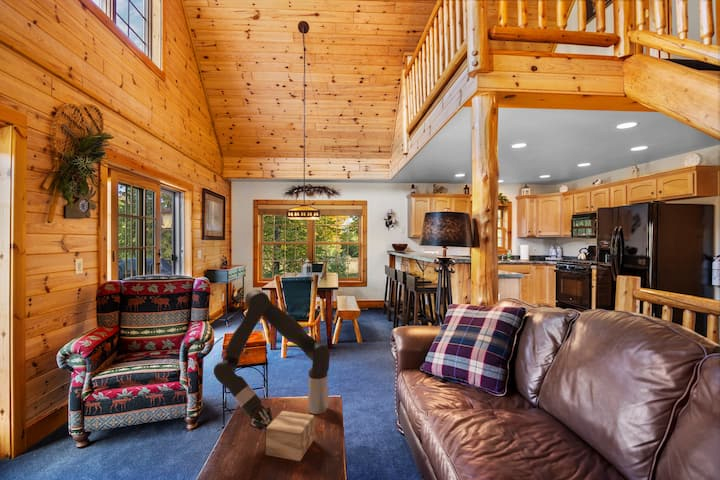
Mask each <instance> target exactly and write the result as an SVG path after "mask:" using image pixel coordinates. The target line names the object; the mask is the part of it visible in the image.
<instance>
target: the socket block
mask: <svg viewBox="0 0 720 480" xmlns="http://www.w3.org/2000/svg"><path fill="white" fill-rule="evenodd" d="M314 420H315V414H313V415H312V414H306V413H302V412H301V413H300V412H293V411H287V410H281V411H280V412H279V413H278V414H277V415H276V416H275V417H274V418H272V420H271V422H270V424H269V425H268V426H267V427H266V428H265V429H264V435H265V436H264V455H265V456H269V457H270V456H271V457H276V458H279V459H280V458H282V459H287V460H291V461H297V462H300V461H301V460H302V459H303V457H304V455H306V452H307V451H308V450H309V448H310V446H311V445H312V443H313V442H314V438H315V437H314V434H315V431H314V430H315V429H314V428H315V427H314V426H315V421H314Z"/></svg>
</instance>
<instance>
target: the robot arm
mask: <svg viewBox="0 0 720 480" xmlns="http://www.w3.org/2000/svg"><path fill="white" fill-rule="evenodd" d="M244 298H245V300H244V302H245V306H246V307H247V309H246V310H247V311H246V313H245V316H244V318H243V319H242V321H241V323H240V324H239V325H238V327H237V328H236V329H235V330H234V332H233V334H232V335H231V337H230V339H229V340H228V343H227V346H226V348H225V351H224V353H225V355H224V358H223V360H222V361H220V362H217V363H216V364H215V366H214V368H213V375H214V377H215V379H216V380H217V381H218V382H219V383H220V384H222V385H223V386H224V387H225V388H226V389H227V390H228V391H229V392H230V394H231V396H233V397H234V399H235V401H236V403H237V404H238V406H239V407H240V408H241V410H243V412H244V414H245V415H246V416H249V418H250V420H251V423H250V424H249V426H250V427H252V428H254V429H257V430H260V431H263V430H265V428H266V427H267V426H268V425H269V424H270V422H271V421H272V420H273V416H272V411H271V407H270V406H267V407H265V406H264V405H262V402H263V401H262V399H261V398H260V397H259V396H258V394H257V393H256V391H255V390H254V389H253V388H252V387H251V386H250V385H249V384H248V382H247V381H246V380H245V378H243V376H240V375H238V374H237V373H235V371H237V368H238V365H239V363H240V359H241V356H242V353H243V351H244V349H245V347H246V344H247V343H248V341H249V339H250V337H251V335H252V333H253V331H254V329H255V327H256V326H257V324H258V323H259V321H260V319H261V318H262V317H263V318H264V320H265V321H267V323H269V324H270V326H271V327H272V328H274V330H275V331H276V332H278V334H280V335H281V336H282V337H283V338H285V339H286V340H287V341H288V342H290V343H292V344H294V345H295V346H297V347H298V348H299V349H301V350H302V352H303V353H304V354H305V355H306V356H307V357H308V359H309V360H311V361H312V364H311V367H310V369H309V370H308V397H307V398H308V403H307V405H308V407H307V411H308V413H311V415H312V414H313V415H320V414H325V412H327V410H328V407H329V389H328V371H329V369H330V358H331V357H330V349H329V347H328V346H326V345H325V344H324V343H322V342H320V341H318V340H316V339H314V338H313V337H312V336H310V335H309V334H308V333H307V332H306V331H305V328H303V326H302V325H301V324H300V323H299V322H298V321H297V320H296V319H295V318H293V317H292V316H291V315H289V314H288V313H287V312H286V311H283V310H282V309H281V308H280V307H278V306H276V305H275V304H274V303H273V302H272V301H271V300H270V298H269V296H268V295H267V294H266V293H265V292H264V291H262V290H259V289H251V290H249V291H248V292H247V293H246V295H245V297H244Z"/></svg>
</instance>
